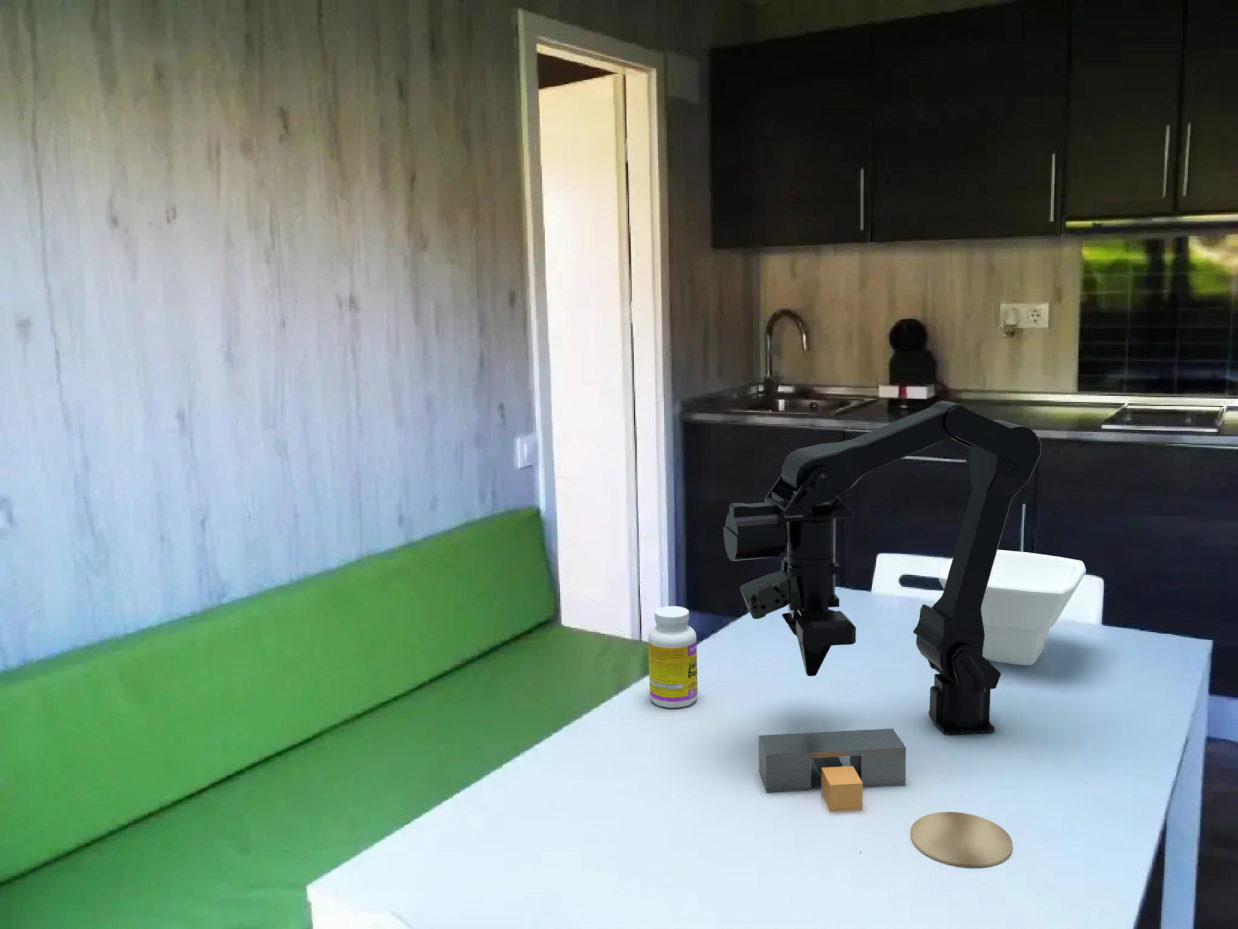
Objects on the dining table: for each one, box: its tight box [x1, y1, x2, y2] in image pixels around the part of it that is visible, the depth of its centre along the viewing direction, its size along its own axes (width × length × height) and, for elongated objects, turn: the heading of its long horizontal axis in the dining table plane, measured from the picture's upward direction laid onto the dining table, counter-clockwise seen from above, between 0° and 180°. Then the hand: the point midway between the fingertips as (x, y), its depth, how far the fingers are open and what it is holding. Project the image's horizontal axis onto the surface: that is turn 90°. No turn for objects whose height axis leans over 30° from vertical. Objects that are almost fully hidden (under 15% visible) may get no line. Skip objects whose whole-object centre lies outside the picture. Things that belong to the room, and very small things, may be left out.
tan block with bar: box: [811, 757, 864, 813], centre depth 121 cm, size 4×13×3 cm, turn 3°
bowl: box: [938, 549, 1087, 666], centre depth 156 cm, size 19×19×14 cm
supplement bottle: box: [647, 605, 698, 709], centre depth 145 cm, size 7×7×13 cm
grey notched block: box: [758, 728, 907, 793], centre depth 122 cm, size 16×5×5 cm, turn 92°
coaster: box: [909, 811, 1013, 869], centre depth 109 cm, size 10×10×1 cm
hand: (810, 675), depth 130 cm, fingers closed
